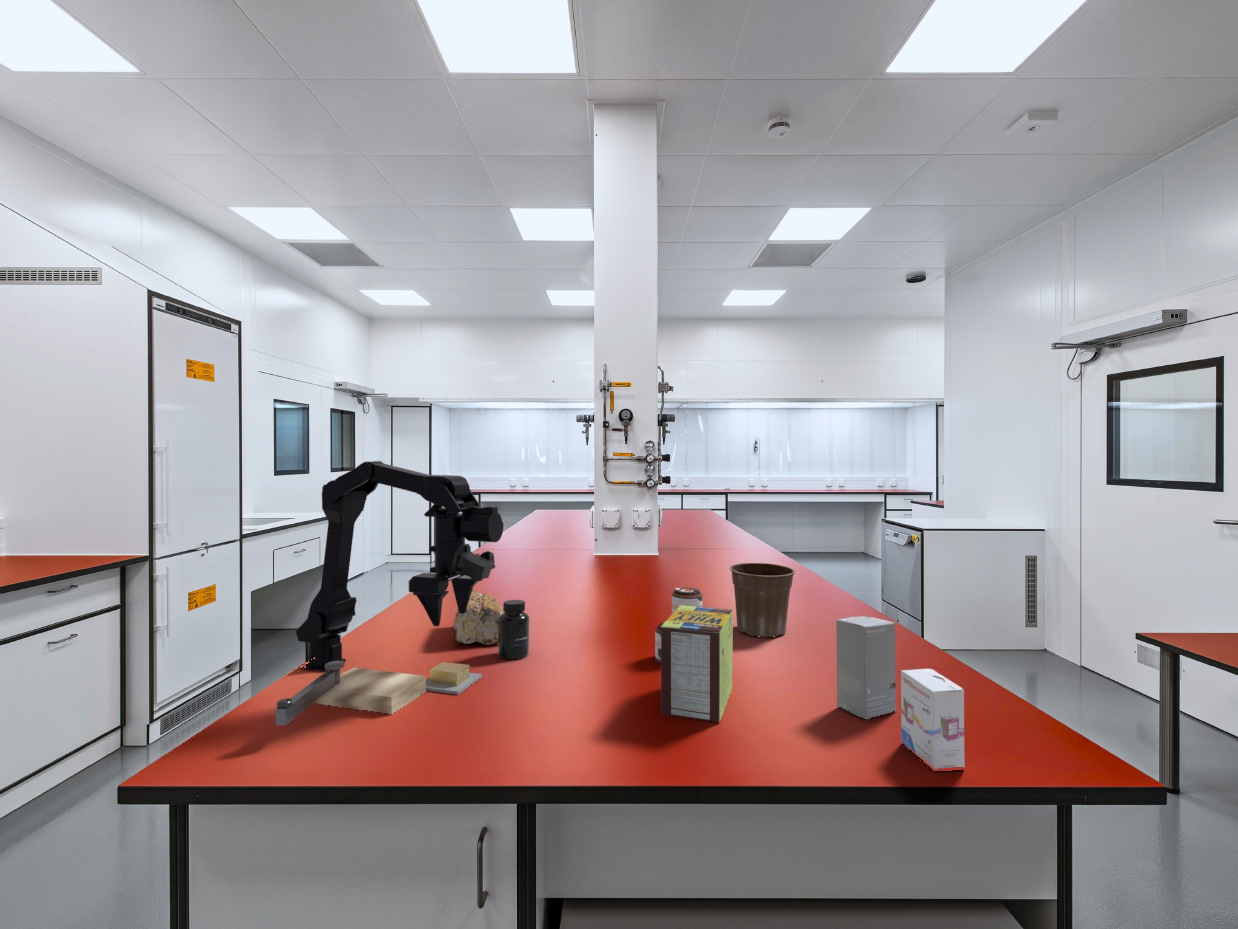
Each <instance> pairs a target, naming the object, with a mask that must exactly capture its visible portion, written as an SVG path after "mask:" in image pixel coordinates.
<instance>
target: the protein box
mask: <svg viewBox="0 0 1238 929" xmlns="http://www.w3.org/2000/svg"><path fill="white" fill-rule="evenodd" d="M733 613H734V612H733V609H728V608H719V607H718V608H717V607H715V608H714V607H706V606H704V607H703V606H702V607H696V606H685V605H680V606H679V607H678V609H677V610H676V611H675V612H674V613H673V614H672V613H671V615H670V616H669V617H668V618H667V619H666V620H665V621H664V622H663V623H664V624H663V625H662V626H661V663H660V703H661V704H660V706H661V707H660V708H661V709H660V715H663V716H669V717H676V716H677V717H676V718H682V717H686V718H685V719H689V718H691V720H696V719H700V720H699V721H702V720H706V721H705V722H709V721H713V722H712V723H715V722H720V723H721V721H722V717H723V715H724V713H725V709H726V707H725V706H727V704H728V702H727V701H729V699H728V698H730V696H731V694H730V693H732V691H731V690H733V650H734V649H733V642H734V640H733V638H734V637H733V635H734V634H733V624H734V623H733V620H734V619H733V616H734V615H733ZM729 695H730V696H729ZM720 720H721V721H720Z"/></svg>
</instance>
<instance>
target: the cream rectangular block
mask: <svg viewBox="0 0 1238 929" xmlns="http://www.w3.org/2000/svg"><path fill="white" fill-rule="evenodd" d="M344 667H345V662H343V661H332V662H329V663H326V664H325V670H326V671H335V685H334V686H333V687H332V688H331V689H329V690H328V691H327V692H326V693H325V694H323V695H322V696H321V697H320V698H318V699H317V700H316V701H315V702H314V704H315V703H317V704H316V705H321V704H323V705H322V706H328V705H331V706H330V707H335V706H340V707H339V708H342V707H344V708H343V709H349V708H351V710H356V709H358V710H357V711H363V710H368V711H367V712H370V711H374V712H373V713H377V712H382V713H381V714H384V713H387V715H391V714H392V715H393V714H395V713H396V712H398V711H399V710H401V709H403V708H404V707H405V706H407V705H409V704H410V703H411V702H413V701H414V700H416V699H417V698H419V697H420V696H422V695H424V694H425V693H427V691H426V680H427V676H426V675H419V674H412V673H402V672H394V671H386V670H378V669H370V668H362V667H353V668H351V669H349V670H346V671H344V672H343V673H341V669H343V668H344ZM421 694H422V695H421ZM403 706H404V707H403ZM400 708H401V709H400ZM397 710H398V711H397ZM394 712H395V713H394Z"/></svg>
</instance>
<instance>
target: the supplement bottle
mask: <svg viewBox="0 0 1238 929" xmlns="http://www.w3.org/2000/svg"><path fill="white" fill-rule="evenodd" d="M502 606H503V607H502V609H503V612H504V613H503V614H501V615H500V617H499V627H498V642H497V655H498V656H499V658H500V659H503V660H508V661H514V660H515V661H516V660H521V659H525V658H526V657H528V655H529V652H530V616H529V614H528V613H527V612H525V611H526V601H525V600H523V599H508V600H505V601H503V605H502Z"/></svg>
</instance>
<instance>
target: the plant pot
mask: <svg viewBox="0 0 1238 929" xmlns="http://www.w3.org/2000/svg"><path fill="white" fill-rule="evenodd" d="M729 569H730V572H731V579H732V585H733V589H734V599H735V603H734V604H735V614H736V629H737V631H738V632H740V633H741V634H747V635H748V636H749V635H753V636H752V637H754V636H760V637H773V636H777V637H778V636H781V635H782V634H784V633H785V632H787V622H788V612H789V600H790V593H791V588H792V585H793V580H794V579H793V578H794V575H795V574H796V571H795V569H793V568H792V567H790V566H786V565H780V564H775V563H768V562H767V563H765V562H743V563H736V564H732V565H730V567H729ZM785 634H786V633H785ZM785 634H784V635H785ZM782 636H783V635H782Z"/></svg>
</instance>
